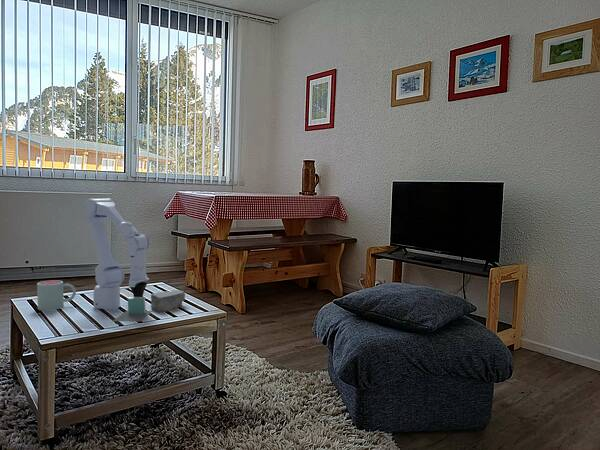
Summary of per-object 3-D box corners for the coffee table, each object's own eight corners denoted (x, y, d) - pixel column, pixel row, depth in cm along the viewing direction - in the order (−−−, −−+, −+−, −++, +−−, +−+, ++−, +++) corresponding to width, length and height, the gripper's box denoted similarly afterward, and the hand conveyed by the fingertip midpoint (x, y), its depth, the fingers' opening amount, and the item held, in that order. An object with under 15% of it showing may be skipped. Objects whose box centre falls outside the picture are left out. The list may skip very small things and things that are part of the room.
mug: (37, 311, 185) (36, 286, 184) (38, 305, 193) (37, 281, 192) (76, 307, 191) (76, 283, 190) (75, 302, 199) (75, 278, 198)
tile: (128, 313, 183) (127, 298, 181) (130, 311, 184) (129, 296, 183) (144, 313, 183) (143, 298, 181) (145, 311, 184) (144, 297, 183)
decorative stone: (145, 313, 186) (167, 315, 183) (144, 295, 186) (166, 297, 183) (167, 304, 200) (187, 306, 197) (166, 288, 200) (187, 289, 197)
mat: (112, 322, 173) (112, 320, 173) (127, 311, 187) (127, 310, 187) (140, 323, 173) (140, 321, 173) (152, 312, 187) (152, 311, 186)
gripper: (142, 270, 176) (142, 306, 177) (154, 263, 190) (154, 297, 192) (123, 270, 176) (123, 306, 177) (136, 263, 191) (137, 296, 192)
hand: (138, 301), depth 185 cm, fingers closed
